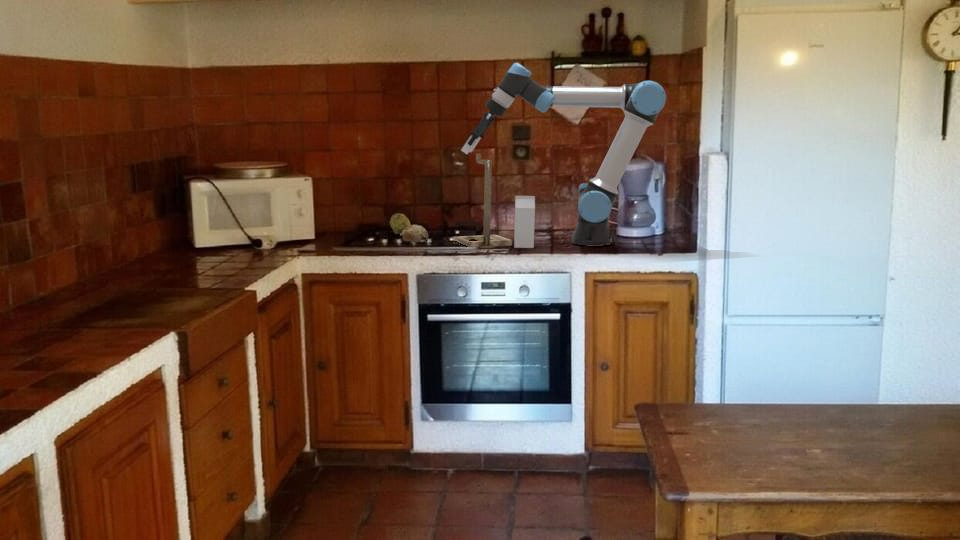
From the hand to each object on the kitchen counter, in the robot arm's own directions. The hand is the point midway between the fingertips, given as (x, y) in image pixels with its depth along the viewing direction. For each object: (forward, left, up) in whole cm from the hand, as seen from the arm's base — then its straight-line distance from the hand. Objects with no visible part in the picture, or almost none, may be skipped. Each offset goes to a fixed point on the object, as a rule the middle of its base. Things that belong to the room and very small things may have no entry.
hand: (466, 151), depth 337 cm
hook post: (-6, +3, -35) cm, 35 cm away
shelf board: (-8, -2, -35) cm, 36 cm away
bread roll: (+14, -17, -35) cm, 41 cm away
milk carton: (-20, +9, -35) cm, 41 cm away
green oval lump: (+14, -33, -35) cm, 50 cm away
